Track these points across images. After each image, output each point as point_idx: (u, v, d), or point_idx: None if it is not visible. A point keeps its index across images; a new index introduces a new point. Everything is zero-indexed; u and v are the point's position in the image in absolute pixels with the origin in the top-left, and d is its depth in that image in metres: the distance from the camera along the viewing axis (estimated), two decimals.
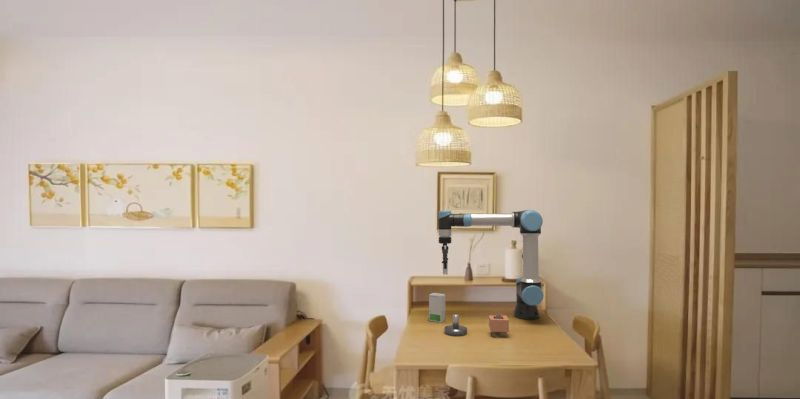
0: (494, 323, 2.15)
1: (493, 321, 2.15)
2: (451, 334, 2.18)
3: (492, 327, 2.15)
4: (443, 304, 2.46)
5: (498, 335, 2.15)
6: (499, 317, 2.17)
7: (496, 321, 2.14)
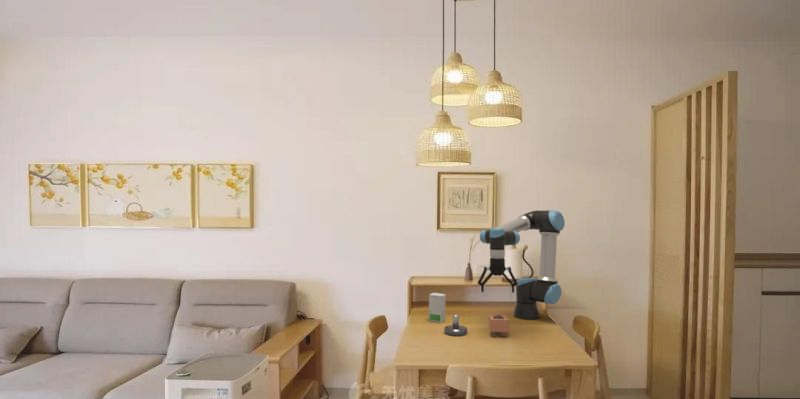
0: (494, 323, 2.15)
1: (493, 321, 2.15)
2: (451, 334, 2.18)
3: (492, 327, 2.15)
4: (443, 304, 2.46)
5: (498, 335, 2.15)
6: (499, 317, 2.17)
7: (496, 321, 2.14)
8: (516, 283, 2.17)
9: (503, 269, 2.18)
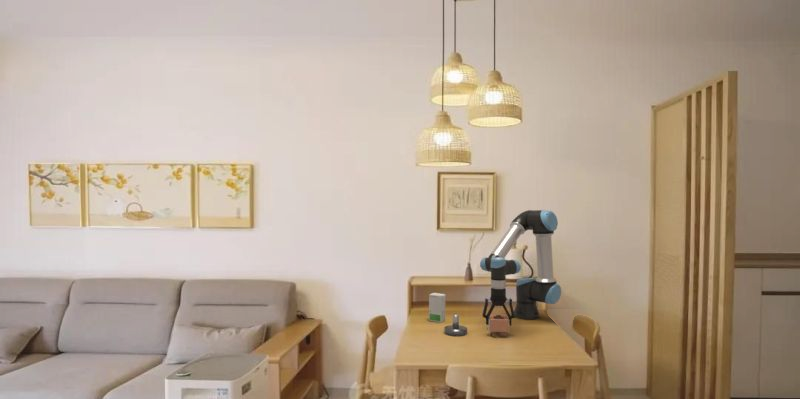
0: (494, 323, 2.15)
1: (493, 321, 2.15)
2: (451, 334, 2.18)
3: (492, 327, 2.15)
4: (443, 304, 2.46)
5: (498, 335, 2.15)
6: (499, 317, 2.17)
7: (496, 321, 2.14)
8: (513, 316, 2.17)
9: (504, 299, 2.18)
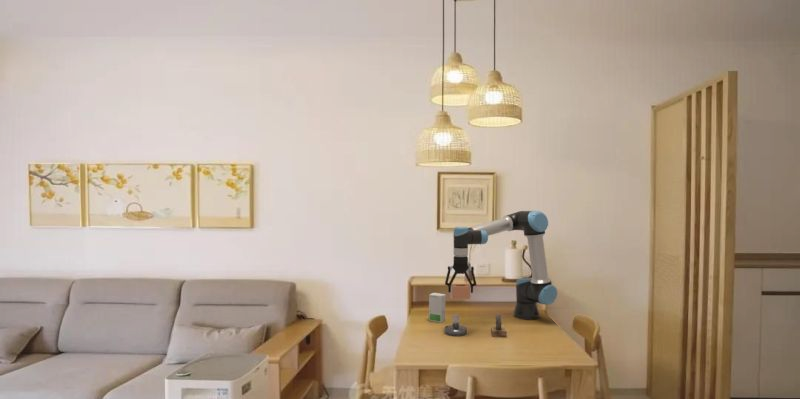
0: (456, 290, 2.18)
1: (455, 288, 2.18)
2: (451, 334, 2.18)
3: (454, 294, 2.18)
4: (443, 304, 2.46)
5: (498, 335, 2.15)
6: (499, 317, 2.17)
7: (458, 288, 2.18)
8: (475, 284, 2.21)
9: (466, 267, 2.21)
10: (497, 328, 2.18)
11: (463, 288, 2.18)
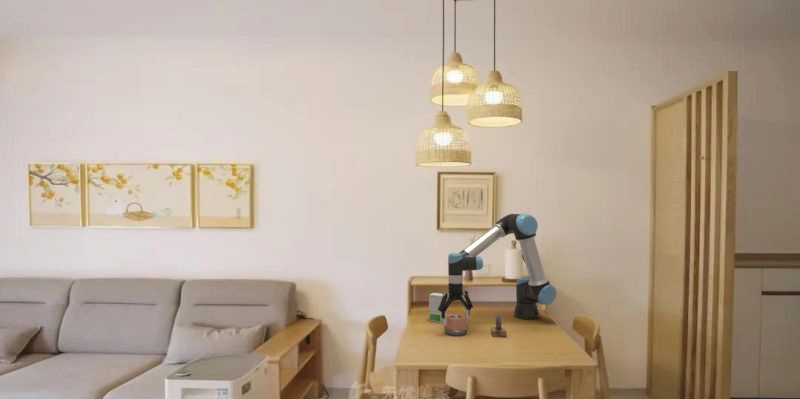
0: (456, 322, 2.18)
1: (455, 321, 2.17)
2: (451, 334, 2.18)
3: (454, 327, 2.17)
4: None
5: (498, 335, 2.15)
6: (499, 317, 2.17)
7: (457, 320, 2.18)
8: (471, 306, 2.26)
9: (461, 293, 2.23)
10: (497, 328, 2.18)
11: (462, 320, 2.19)
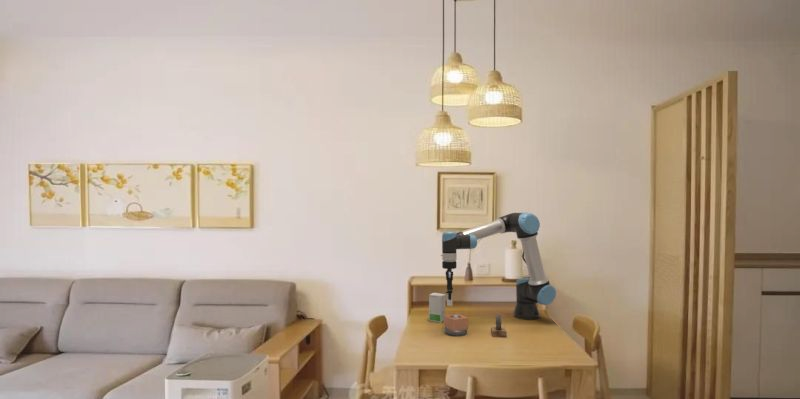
0: (456, 322, 2.18)
1: (455, 321, 2.17)
2: (451, 334, 2.18)
3: (454, 327, 2.17)
4: (443, 304, 2.46)
5: (498, 335, 2.15)
6: (499, 317, 2.17)
7: (457, 320, 2.18)
8: None
9: None
10: (497, 328, 2.18)
11: (462, 320, 2.19)
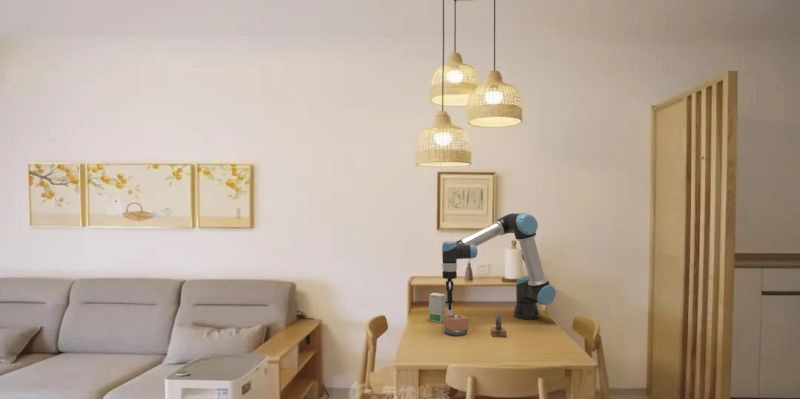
0: (456, 322, 2.18)
1: (455, 321, 2.17)
2: (451, 334, 2.18)
3: (454, 327, 2.17)
4: (443, 304, 2.46)
5: (498, 335, 2.15)
6: (499, 317, 2.17)
7: (457, 320, 2.18)
8: None
9: None
10: (497, 328, 2.18)
11: (462, 320, 2.19)
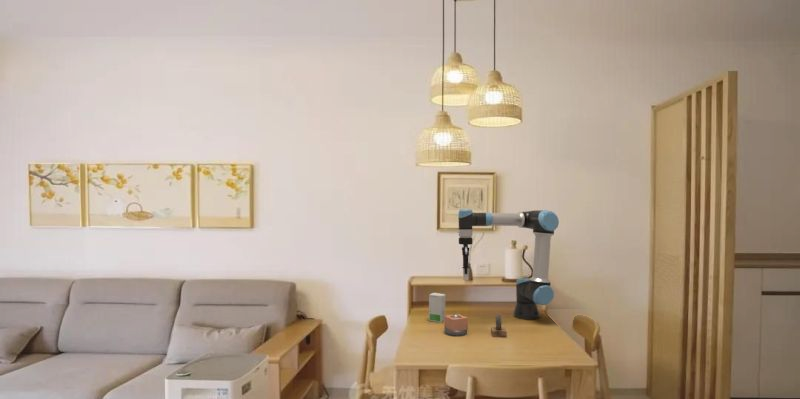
0: (456, 322, 2.18)
1: (455, 321, 2.17)
2: (451, 334, 2.18)
3: (454, 327, 2.17)
4: (443, 304, 2.46)
5: (498, 335, 2.15)
6: (499, 317, 2.17)
7: (457, 320, 2.18)
8: None
9: None
10: (497, 328, 2.18)
11: (462, 320, 2.19)
